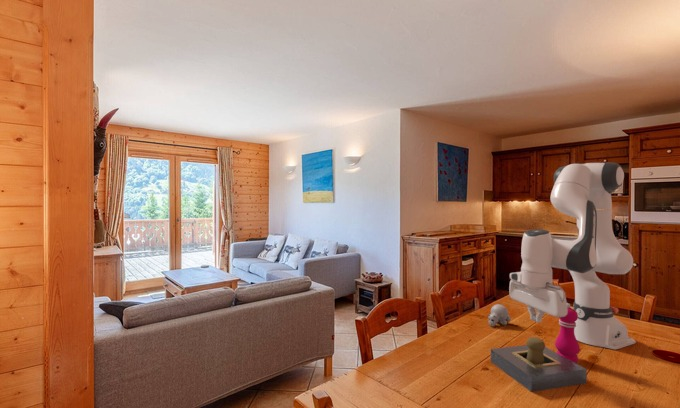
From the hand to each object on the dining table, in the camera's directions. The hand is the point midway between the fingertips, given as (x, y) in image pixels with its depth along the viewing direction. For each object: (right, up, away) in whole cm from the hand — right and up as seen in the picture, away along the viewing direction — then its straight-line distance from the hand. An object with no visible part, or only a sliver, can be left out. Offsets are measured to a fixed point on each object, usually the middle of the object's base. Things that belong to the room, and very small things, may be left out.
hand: (535, 321), depth 106 cm
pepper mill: (+17, -17, +9) cm, 25 cm away
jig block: (0, -17, 0) cm, 17 cm away
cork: (0, -17, 0) cm, 17 cm away
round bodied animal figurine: (+7, -17, +41) cm, 44 cm away
